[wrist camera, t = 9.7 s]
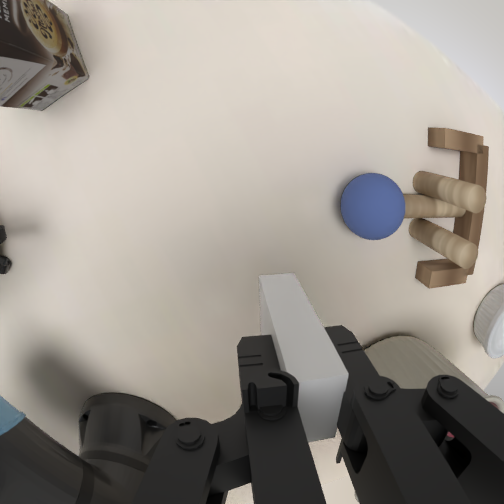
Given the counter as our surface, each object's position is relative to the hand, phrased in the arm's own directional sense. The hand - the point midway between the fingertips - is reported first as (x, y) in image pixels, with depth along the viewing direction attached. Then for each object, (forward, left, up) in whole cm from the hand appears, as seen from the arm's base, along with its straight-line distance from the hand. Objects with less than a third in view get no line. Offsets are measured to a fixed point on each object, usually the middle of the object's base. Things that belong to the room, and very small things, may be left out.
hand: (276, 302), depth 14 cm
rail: (+23, +1, -17) cm, 28 cm away
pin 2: (+18, -2, -17) cm, 25 cm away
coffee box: (-19, +18, -17) cm, 31 cm away
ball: (+11, +1, -14) cm, 17 cm away
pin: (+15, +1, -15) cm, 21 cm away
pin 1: (+18, +3, -17) cm, 25 cm away
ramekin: (+37, -15, -17) cm, 44 cm away
